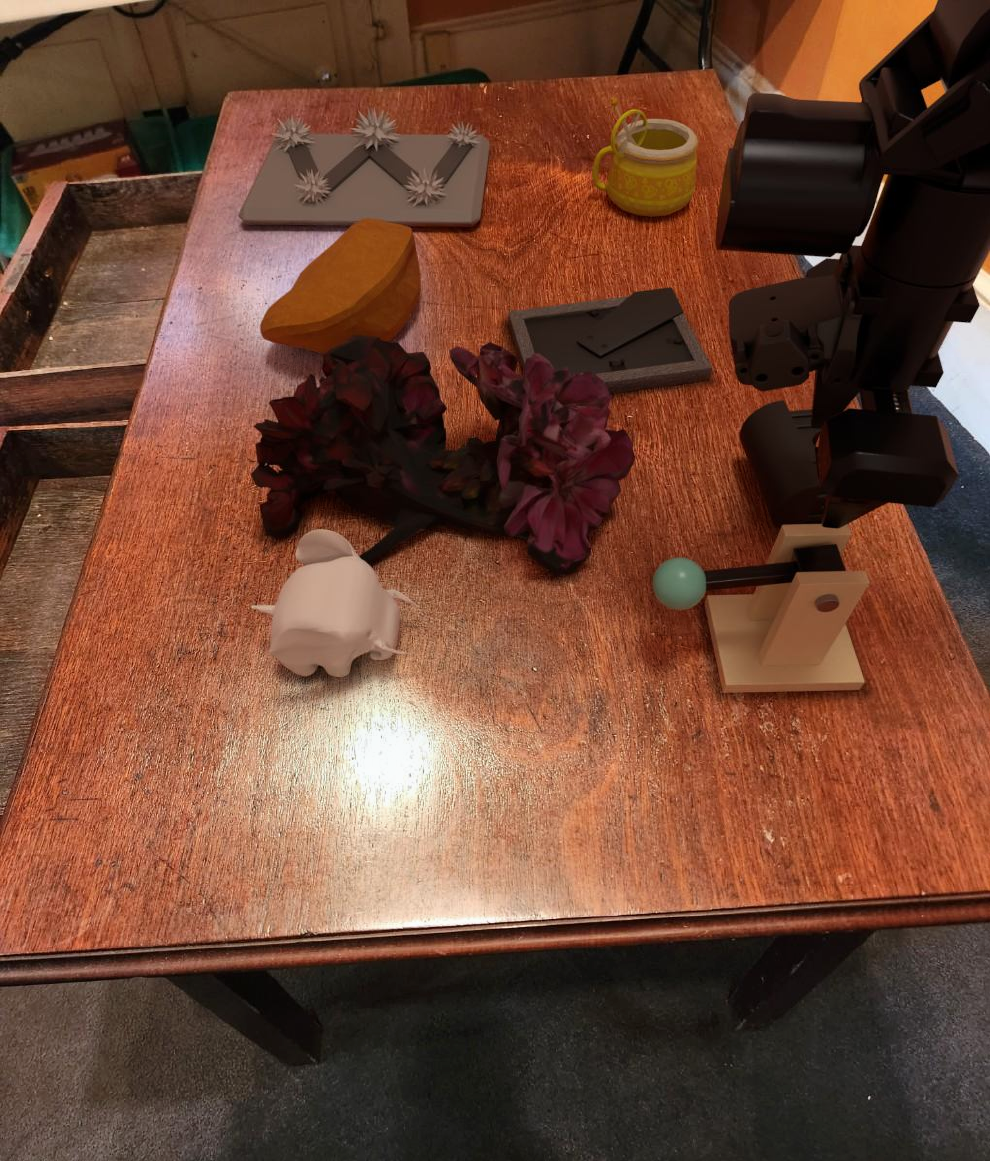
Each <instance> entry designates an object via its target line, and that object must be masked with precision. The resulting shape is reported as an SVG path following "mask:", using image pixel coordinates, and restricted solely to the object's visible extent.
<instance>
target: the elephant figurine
mask: <svg viewBox="0 0 990 1161" xmlns="http://www.w3.org/2000/svg"><path fill="white" fill-rule="evenodd" d="M359 556H360V555H358V553H357V552H356V550H355V548H354V547H353V545H352V544H351V542H349V540H348V539H347V538H346V537H345V536H343V535H341V534H340V533H338V532H336V531H334V530H330V529H323V528H318V529H317V528H316V529H312V530H311V531H308V532H307V533H305V534H304V535H303V536H302V537H300V539H299V540H298V544H297V546H296V550H295V558H296V560H297V561H298V563H300V564H302V565H303V566H300V567H298V568H297V569H296V570H294V572H292V573H291V575H290V576H289V577H288V578H287V579H286V580H285V582H284V583H283V585H282V587H281V589H280V591H279V594H278V595H277V600H276V602H275V604H274V605H273V604H257V605H255V604H251V606H250V609H251V610H257V611H258V612H261V613H264V614H267V615H270V616H272V618H271V625H270V630H269V631H270V633H269V634H270V635H269V650H268V653H267V656H271V655H272V656H273V657H275V658H276V659H277V661H278V662H279V663H280V664H281V665H283V667H285V668H286V669H287V670H290V671H291V672H292V673H293V674H296V675H299V676H301V677H309V676H310V675H311V676H312V675H313V674H314V673H315V672H316V671H317V669H318V667H319V666H321V667H322V668H323V669H324V670H325V672H326V673H327V674H328V675H329V676H332V677H335V678H345V677H347V676H348V675H349V674H350V673H351V668H352V664H353V661H355V659H357V658H358V657H359V656H361V655H364V654H366V653H369V657H370V659H371V660H375V661H380V660H381V661H383V660H388V659H390V658H391V657H392V656H393V655H394V654H397V655H403V656H414V654H412V653H410V652H405V651H402V650H397V646H398V645H397V644H398V640H399V634H400V627H401V609H400V606H399V605H398V603H397V601H396V600H395V599H397V600H401V601H404V602H407V603H409V604H410V605H412V606H414V607H416V608H418V609H421V607H420V606H419V604H417V603H415V602H414V601H412V600H411V599H410V598H409V597H407V595H405V594H403V593H402V592H400V590H397V589H395V588H390V589H389V588H388V589H385V588H384V587H383V586H382V585H381V584H380V581H379V577H378V575H377V572H376V571H375V570H374V569H373V567H372V566H371V565H370V564H367V563H366V562H365V561H364V560H362V559H361V558H360V557H359Z"/></svg>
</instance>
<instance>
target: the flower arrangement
mask: <svg viewBox="0 0 990 1161" xmlns="http://www.w3.org/2000/svg"><path fill="white" fill-rule="evenodd" d="M531 355H532V356H533V357H530V358H527V359H526V362H525V366H524V371H523V370H522V374H520V373H516V371H517V368H518V364H519V359H518V358H517V356H516V355H515V354H514V353H512V352H510V351H509V350H508V349H506V348H504V347H503V346H501V345H498V344H496V343H494V342H491V341H488V343H486V344H483V345H481V347H480V348H479V355H477V356H476V355H475V354H474V353H473V352H472V351H470V350H468V349H465V348H463V347H460V346H455V347H453V348H451V349H450V350H449V358H450V361H451V362H452V363H453V365H454V367H455V369H456V370H457V372H458V374H460V375H461V376H462V377H464V379H466V380H467V381H468V382H469V383H470V384H472V385H473V386H474V387H475V388H476V389H477V394H478V396H479V400H480V402H481V403H482V405H483V406H484V407H485V409H486V410H487V411H488V413H489V415H491V417H492V418H493V420H494V421H498V424H497V428H496V433H495V438H494V440H487V441H486V442H484V441H483V440H482V439H481V438H480V437H479V436H470V437H467V440H466V442H465V444H462V445H461V446H460V447H459V448H457V449H446V446H447V430H446V428H445V423H444V422H445V421H444V416H443V415H444V413H446V412H447V409H448V407H447V406H446V404H445V403H444V402H443V401H442V399H441V393H440V389H439V387H438V385H437V382H436V381H435V379H434V377H433V375H432V373H431V370H432V366H431V365H432V364H431V361H430V359H429V357H428V356H427V355H426V353H425V352H424V351H416V352H415V351H414V352H407V351H406V349H404V347H403V346H402V345H401V344H400V343H399V342H394V341H389V342H388V341H382V340H381V339H380V338H379V337H373V336H364V335H355V334H354V335H353V336H351V337H349V338H347V339H346V342H345V343H343V344H341V345H339V346H337V347H334V348H332V349H330V350H329V351H328V352H326V353H325V354H323V356H322V357H323V358H322V359H323V360H322V364H321V371H322V373H323V375H324V376H323V375H321V377H320V378H318V382H319V386H318V384H317V380H316V375H315V374H313V373H312V372H311V373H309V374H308V375H307V378H306V380H304V381H303V382H300V383H298V384H297V386H296V388H295V391H294V393H293V395H292V396H283V397H282V396H281V398H274V399H271V400H269V401H268V404H269V406H270V407H271V410H272V412H273V414H274V416H275V418H276V421H275V420H270V419H267V418H264V420H263V421H262V422H256V424H254V425H253V428H254V429H255V430H257V431H258V432H260V434H261V438H260V439H259V442H256V443H254V447H255V454H256V461H257V464H258V465H257V466H256V468H254V470H253V471H252V472H251V473H250V476H251V478H252V480H253V483H254V485H255V486H257V487H258V488H268V489H269V491H268V492H267V494H265V495H266V497H267V498H266V501H264V502H262V503H260V504H259V513H260V515H261V517H262V520H263V525H264V530H265V535H266V536H268V537H273V538H276V539H278V538H287V537H290V536H291V535H293V534H294V533H295V532H297V531H298V529H299V526H300V523H301V520H302V504H304V503H306V502H308V501H311V500H312V499H314V498H316V497H319V496H320V495H324V494H328V493H330V494H332V495H334V496H336V497H337V498H338V499H340V500H342V501H343V503H345V505H347V507H348V508H350V509H351V510H355V511H357V512H360V513H361V514H364V515H366V516H369V517H371V518H372V519H375V520H378V521H380V522H382V523H385V524H387V525H389V526H391V527H392V528H393V529H391V530H390V531H389V532H388V533H387V534H386V535H385V536H383V537H382V538H380V540H378V541H377V543H375V544H374V545H373V546H372V547H370V548H369V549H368V550H366V551H365V552H363V553H362V554H360V555H358V556H359V557H360V558H361V559H362V560H364V561H365V562H366V563H367V564H368V565H370V564H371V563H372V562H374V561H376V560H377V559H379V558H381V557H382V556H383V555H385V554H387V553H388V552H390V551H391V550H392V549H394V548H395V547H397V546H399V545H400V544H402V543H403V542H405V541H407V540H409V539H410V538H412V537H413V536H414V535H416V534H418V533H419V532H421V531H422V530H426V529H431V528H436V527H440V526H444V525H447V526H451V527H455V528H459V529H462V530H465V531H466V530H467V531H470V532H474V533H479V534H480V533H481V534H486V535H490V536H495V537H500V538H507V539H514V540H521V541H524V542H527V544H526V546H527V548H526V549H527V550H526V553H527V555H528V557H530V558H531V559H533V560H534V561H535V562H536V563H537V564H539V565H541V567H543V568H544V569H545V570H546V571H547V572H549V573H550V574H551V575H552V576H554V577H561V576H566V575H571V574H574V573H576V571H577V570H578V569H580V567H581V566H582V565H583V564H584V563H585V562H586V561H587V560H588V559H589V558H590V557H591V555H592V546H591V544H590V543H589V540H588V536H589V535H590V534H592V533H593V532H595V531H596V530H597V529H598V528H599V527H600V526H601V525H602V524H603V518H604V517H605V516H606V515H609V514H610V512H611V510H612V509H611V506H612V505H613V503H615V501H616V499H617V498H618V496H619V495H620V494H621V492H622V489H621V488H622V487H621V484H620V481H621V480H623V479H625V478H627V476H628V474H629V473H630V471H631V470H632V467H633V465H634V464H635V461H636V454H635V451H634V446H633V441H632V439H631V437H630V436H629V433H628V432H627V431H626V430H625V429H624V428H622V429H618V430H615V429H607V425H608V421H609V418H610V414H611V409H609V406H610V403H611V399H612V395H611V394H609V392H608V389H607V387H606V385H605V383H604V381H603V380H602V379H600V378H599V377H598V376H597V375H595V374H594V373H592V372H591V371H587V372H583V373H580V374H577V375H575V374H574V373H573V376H570V373H569V371H568V368H567V366H566V367H564V368H563V369H561V370H559V371H555V370H554V368H553V366H552V365H551V363H550V361H549V360H547V359H546V358H545V357H543V356H542V355H540V354H539V353H538V354H531ZM272 466H278V467H279V468H280V469H278V470H277V471H276V470H275V469H274V468H273V467H272Z"/></svg>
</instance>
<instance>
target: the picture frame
mask: <svg viewBox="0 0 990 1161" xmlns="http://www.w3.org/2000/svg"><path fill="white" fill-rule="evenodd" d="M507 324H508V328H509V330H510V335H511V337H512V341H513V343H514V347H515V350H516V353H517V356H518V361H519V362H520V367H521V370H522V372H523V371H524V366H525V362H526V359H527V358H530V357H533V356H532V355H531V354H538V353H539V354H540V355H542V356H543V357H545V358H546V359H547V360H549V361H550V363H551V365H552V366H553V368H554V370H555V371H559V370H561V369H563V368H564V367H566V366H567V368H568V371H569V373H570V376H573V373H574V374H575V375H577V374H580V373H583V372H587V371H591V372H592V373H594V374H595V375H597V376H598V377H599V378H600V379H602V380H603V381H604V383H605V385H606V387H607V389H608V392H609V394H610V395H613V394H620V393H626V392H635V391H642V390H650V389H657V388H663V387H670V386H671V387H672V386H677V385H678V386H679V385H685V384H691V383H698V382H699V383H700V382H707V381H708V382H709V381H710V380H711V375H712V372H713V366H712V363H711V362H710V360H709V358H708V356H707V354H706V352H705V351H704V349H703V347H702V345H701V343H700V341H699V339H698V338H697V336H696V334H695V332H694V330H693V329H692V327H691V325H690V323H689V321H688V319H687V317H686V315H685V314H684V309H683V307H682V305H681V302H680V301H679V299H678V297H677V295H676V293H675V291H674V288H673V287H663V288H662V287H661V288H654V289H646V290H639V291H634V292H633V293H631V294H630V295H627V296H619V297H611V298H602V299H595V300H587V301H586V300H585V301H579V302H572V303H563V304H562V303H561V304H555V305H548V306H540V307H532V308H525V309H524V308H523V309H515V310H508V311H507Z"/></svg>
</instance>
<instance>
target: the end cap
mask: <svg viewBox="0 0 990 1161" xmlns="http://www.w3.org/2000/svg"><path fill="white" fill-rule="evenodd" d="M811 414H812V408H811V409H797V410H789V408H788V406H787V404H786V401H785V400H783V399H781V400H776V401H772V402H769V403H766V404H764V405H762V406H761V407H759V408H757V409H755V411H753V412H752V413H750V415H748V416H747V418H745V420H744V422H743V423H742V425H741V427H740V429H739V442H740V444H741V447H742V450H743V452H744V454H745V457H746V459H747V462H748V465H749V467H750V470H751V472H752V475H753V477H754V479H755V480H754V481H755V483H756V485H757V487H758V488H757V489H758V490H759V493H760V496H761V498H762V500H763V503H764V505H765V508H766V510H767V513H768V516H769V519H770V520H771V521H770V522H771V523H772V525H773V526H774V527H775V528H776V530H779V531H780V529H781V527H782V525H795V524H822V522H821V521H822V515H823V510H824V504H825V500H826V495H827V493H826V492H825V491H823V490H822V489H821V488H820V482H819V479H818V475H817V466H816V456H815V447H817V442H819V438H820V433H821V431H822V429H818V428H812V426H811Z"/></svg>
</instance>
